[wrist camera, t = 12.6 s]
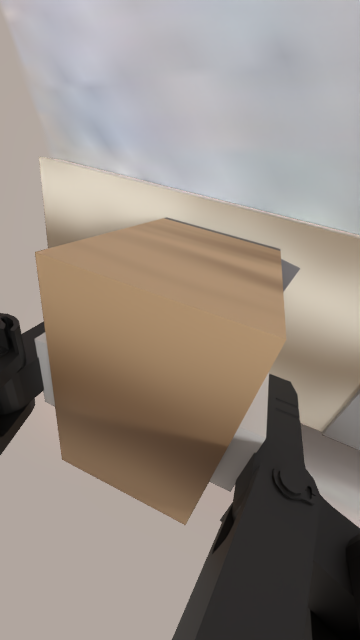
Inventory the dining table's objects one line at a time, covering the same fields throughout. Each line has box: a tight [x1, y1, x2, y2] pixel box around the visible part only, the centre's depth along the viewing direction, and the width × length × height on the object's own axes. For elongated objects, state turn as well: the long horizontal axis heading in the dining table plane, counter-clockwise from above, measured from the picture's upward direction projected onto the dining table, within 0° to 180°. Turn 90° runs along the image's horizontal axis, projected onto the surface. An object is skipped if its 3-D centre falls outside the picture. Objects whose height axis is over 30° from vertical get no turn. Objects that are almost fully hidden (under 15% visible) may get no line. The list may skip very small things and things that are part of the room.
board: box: [39, 157, 360, 450], centre depth 13 cm, size 10×24×2 cm, turn 78°
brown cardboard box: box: [35, 217, 286, 525], centre depth 9 cm, size 8×5×7 cm, turn 168°
